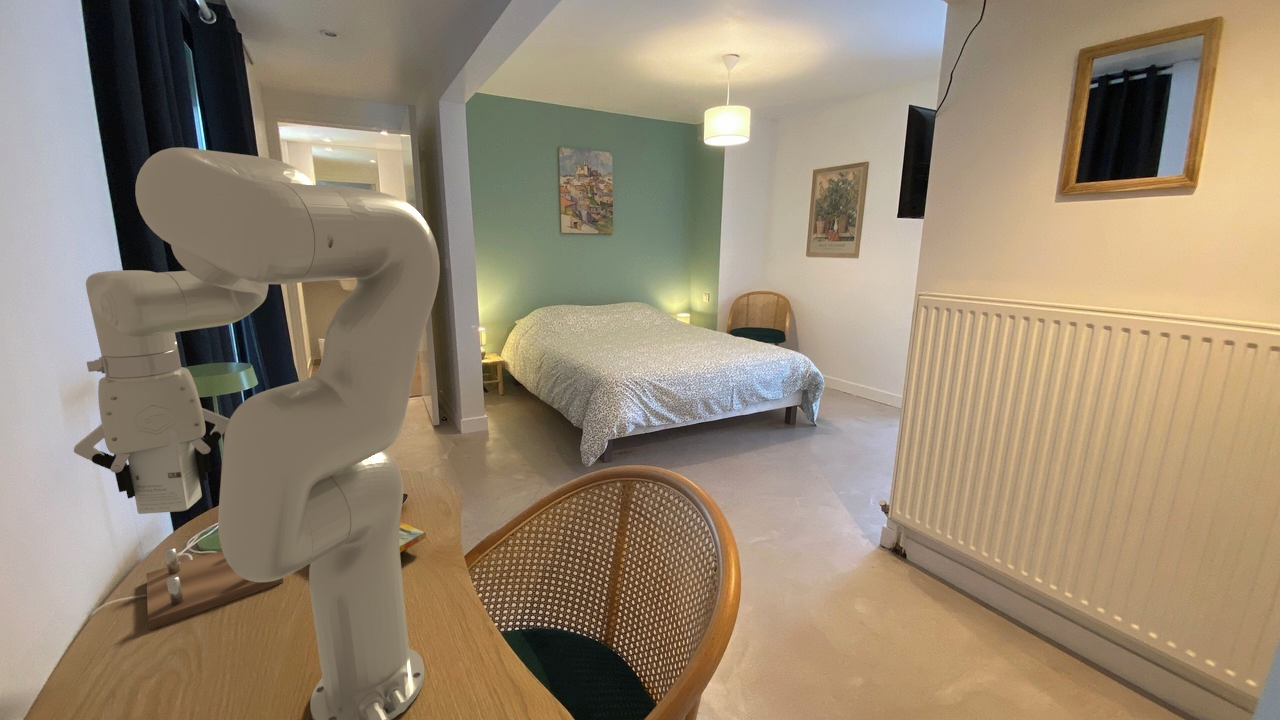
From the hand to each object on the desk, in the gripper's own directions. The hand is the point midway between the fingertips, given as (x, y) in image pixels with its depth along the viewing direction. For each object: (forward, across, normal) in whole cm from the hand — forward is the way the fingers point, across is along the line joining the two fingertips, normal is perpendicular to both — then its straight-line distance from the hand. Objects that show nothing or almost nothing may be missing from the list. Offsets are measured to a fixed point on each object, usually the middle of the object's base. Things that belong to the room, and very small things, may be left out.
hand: (168, 484), depth 76 cm
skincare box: (+3, 0, 0) cm, 3 cm away
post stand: (+20, +3, +4) cm, 21 cm away
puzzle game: (+20, +23, -1) cm, 31 cm away
